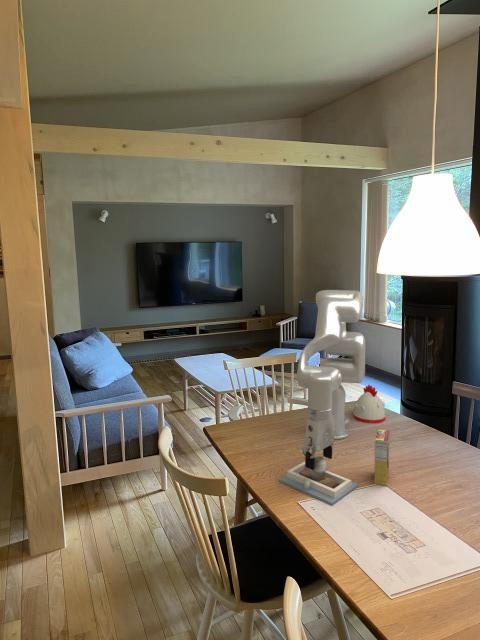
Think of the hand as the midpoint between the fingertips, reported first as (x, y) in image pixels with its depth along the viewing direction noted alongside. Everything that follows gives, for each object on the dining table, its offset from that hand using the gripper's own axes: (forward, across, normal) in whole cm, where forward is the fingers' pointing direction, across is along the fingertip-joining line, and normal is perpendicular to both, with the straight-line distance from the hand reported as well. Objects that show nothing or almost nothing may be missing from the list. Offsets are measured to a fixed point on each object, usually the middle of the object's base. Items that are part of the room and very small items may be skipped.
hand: (318, 462), depth 147 cm
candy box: (+7, +17, -13) cm, 22 cm away
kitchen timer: (+8, +63, +17) cm, 65 cm away
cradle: (+7, 0, 0) cm, 7 cm away
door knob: (+6, 0, 0) cm, 6 cm away
